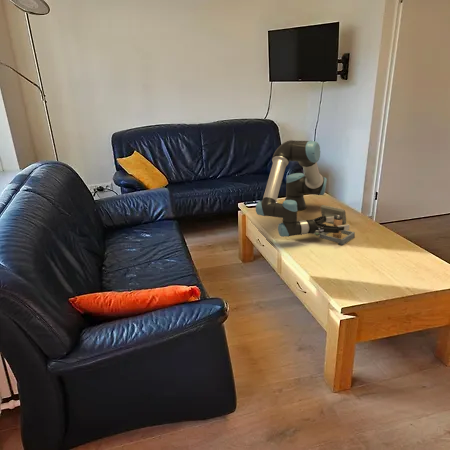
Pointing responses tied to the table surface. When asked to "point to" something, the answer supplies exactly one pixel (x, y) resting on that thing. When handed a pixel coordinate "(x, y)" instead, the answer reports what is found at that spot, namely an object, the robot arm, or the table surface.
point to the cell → (337, 223)
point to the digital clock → (333, 213)
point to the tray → (339, 241)
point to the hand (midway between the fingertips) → (342, 222)
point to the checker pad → (316, 232)
